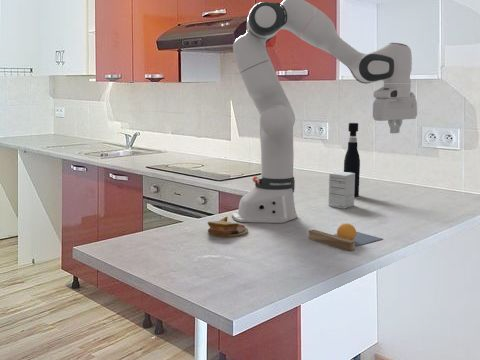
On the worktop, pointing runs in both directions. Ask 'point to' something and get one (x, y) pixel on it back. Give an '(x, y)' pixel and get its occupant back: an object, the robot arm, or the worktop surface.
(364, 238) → the slate square
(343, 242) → the rail
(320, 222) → the worktop surface
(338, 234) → the ball
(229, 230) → the toy sandwich meal
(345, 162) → the wine bottle
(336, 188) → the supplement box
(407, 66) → the robot arm
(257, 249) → the worktop surface
